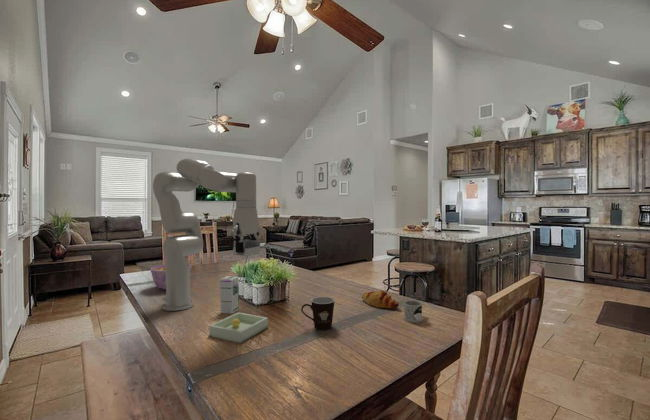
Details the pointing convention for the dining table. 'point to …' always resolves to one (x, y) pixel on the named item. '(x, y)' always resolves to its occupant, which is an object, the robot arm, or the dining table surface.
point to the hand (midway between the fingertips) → (246, 250)
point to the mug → (413, 311)
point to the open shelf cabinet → (248, 248)
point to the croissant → (380, 299)
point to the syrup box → (229, 294)
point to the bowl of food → (160, 276)
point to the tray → (241, 333)
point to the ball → (235, 323)
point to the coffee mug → (321, 312)
